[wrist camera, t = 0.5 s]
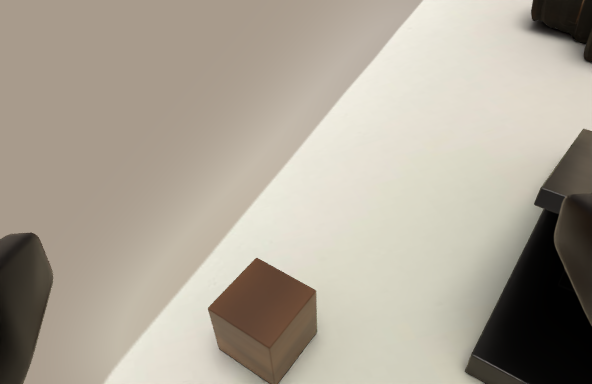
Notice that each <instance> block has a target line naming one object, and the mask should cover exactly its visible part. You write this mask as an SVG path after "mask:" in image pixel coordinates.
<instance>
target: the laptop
mask: <svg viewBox="0 0 592 384" xmlns="http://www.w3.org/2000/svg"><path fill="white" fill-rule="evenodd" d="M558 217H559V214H557V213H554V212H552V211H549V210H546V209H543V212H542V214H541V216H540V218H539V220H538V222H537V224H536V226H535V228H534V230H533V232H532V234H531V236H530V238H529V240H528V242H527V244H526V246H525V248H524V250H523V252H522V254H521V256H520V258H519V260H518V262H517V264H516V266H515V268H514V270H513V272H512V274H511V276H510V278H509V280H508V282H507V284H506V286H505V288H504V290H503V292H502V294H501V296H500V298H499V300H498V302H497V304H496V306H495V308H494V310H493V312H492V314H491V316H490V318H489V320H488V322H487V324H486V326H485V328H484V330H483V332H482V334H481V336H480V338H479V340H478V342H477V344H476V346H475V348H474V350H473V352H472V354H471V356H470V359H469V361H468V364H467V367H466V369H465V372H466V373H468V374H470V375H472V376H474V377H475V378H477V379H479V380H481V381H483V382H485V383H486V384H592V326H591V324H590V322H589V320H588V318H587V316H586V314H585V312H584V310H583V308H582V306H581V303H580V301H579V299H578V297H577V294H576V292H575V290H574V288H573V285H572V283H571V281H570V279H569V276H568V274H567V272H566V270H565V268H564V265H563V263H562V261H561V259H560V256H559V254H558V252H557V250H556V247H555V243H554V232H555V228H556V225H557V221H558Z"/></svg>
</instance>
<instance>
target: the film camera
mask: <svg viewBox="0 0 592 384" xmlns="http://www.w3.org/2000/svg"><path fill="white" fill-rule="evenodd" d="M531 14H532V20H533V21H537V20H539V21H543V22H544V23H545V24H547V26H549V27H551V28H552V29H553V28H557V30H561V31H562V32H568V33H569V34H571V35H572V37H573V39H575V41H578V42H583V43H587V44H586V47H585V51H584V57H585V59H586V60H588V61H592V0H533V3H532V10H531Z"/></svg>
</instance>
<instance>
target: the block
mask: <svg viewBox="0 0 592 384" xmlns="http://www.w3.org/2000/svg"><path fill="white" fill-rule="evenodd" d="M208 311H209V314H210V318H211V322H212V325H213V329H214V332H215V336H216V339H217V343H218V347H219V349H220V350H222V351H223V352H225V353H226V354H228V355H229V356H231V357H232V358H234V359H235V360H236V361H238V362H239V363H241V364H242V365H244V366H245V367H247V368H248V369H250V370H251V371H252V372H254V373H255V374H257V375H258V376H260V377H261V378H263V379H264V380H266V381H267V382H269V383H270V384H278V383H279V381H280V380H281V379H282V377H283V376H284V375H285V373H286V372H287V371H288V369H289V368H290V367H291V365H292V364H293V363H294V362H295V360H296V359H297V358H298V356H299V355H300V354H301V352H302V351H303V350H304V348H305V347H306V346H307V344H308V343H309V342H310V340H311V339H312V338H313V336H314V335H315V334H316V332H317V309H316V290H314V289H312V288H311V287H309V286H307V285H305V284H303V283H302V282H300V281H298V280H296V279H294V278H293V277H291V276H289V275H287V274H285V273H284V272H282V271H280V270H278V269H276V268H275V267H273V266H271V265H269V264H267V263H266V262H264V261H262V260H260V259H258V258H256V259H255V260H254V261H253V262H252V263H251V264H250V265H249V266H248V267H247V268H246V269H245V270H244V271H243V272H242V273H241V274H240V275H239V276H238V277H237V278H236V279H235V280H234V281H233V282H232V284H231V285H230V286H229V287H228V288H227V289H226V290H225V291H224V292H223V293H222V294H221V295H220V296H219V297H218V298H217V299H216V300H215V301H214V302H213V303H212V304H211V305H210V306H209V308H208Z"/></svg>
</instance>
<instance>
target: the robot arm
mask: <svg viewBox="0 0 592 384" xmlns="http://www.w3.org/2000/svg"><path fill="white" fill-rule="evenodd" d="M554 243H555V247H556V250H557V252H558V254H559V256H560V259H561V261H562V263H563V265H564V268H565V270H566V272H567V274H568V276H569V279H570V281H571V283H572V285H573V288H574V290H575V292H576V294H577V297H578V299H579V301H580V303H581V306H582V308H583V310H584V312H585V314H586V316H587V318H588V320H589V322H590V324H591V326H592V193H582V194H570V195H568V196H566V197H565V199H564V200H563V202H562V206H561V209H560V213H559V217H558V221H557V225H556V228H555V232H554ZM52 283H53V273H52V269H51V266H50V264H49V261H48V258H47V256H46V254H45V251H44V249H43V246H42V244H41V241H40V239H39V237H38V236H37V235H35V234H33V233H19V234H10V235H7V236H5V237H3V238H2V239H0V384H23V383H24V380H25V377H26V375H27V372H28V369H29V367H30V364H31V361H32V358H33V354H34V351H35V348H36V344H37V340H38V336H39V333H40V329H41V325H42V321H43V317H44V314H45V310H46V306H47V303H48V299H49V295H50V291H51V288H52Z"/></svg>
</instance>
